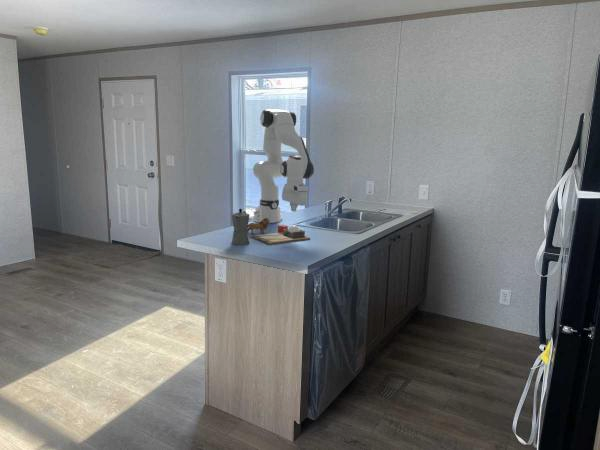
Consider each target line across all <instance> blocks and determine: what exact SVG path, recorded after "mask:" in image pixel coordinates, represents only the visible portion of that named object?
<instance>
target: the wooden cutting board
mask: <svg viewBox="0 0 600 450" xmlns="http://www.w3.org/2000/svg"><path fill="white" fill-rule="evenodd" d="M288 229H289V228H288ZM288 229H284V230H283V232H279V233H278V232H271V233H264V234H256V235H255V234H254V235H250V238H251V239H254V240H256V241H258V242H260V243H263V244H266V245H268V246H272V245H273V246H274V245H280V244H287V243H296V242H301V241H303V242H304V241H308V240H309V241H310V240H311V237H309V236H306V231H305V230H303V229H300V231H298V232H290V231H288Z"/></svg>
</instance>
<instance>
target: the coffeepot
mask: <svg viewBox="0 0 600 450" xmlns="http://www.w3.org/2000/svg"><path fill="white" fill-rule="evenodd" d="M231 218H232V226H233V232H232V233H233V234H232V237H231V238H232V240H231V243H232V245H234V244H235V245H234V246H246V244H247V245H249V244H250V240H249V234H248V233H249V231H248V232H247V227H248V225H249V221H250V214H249V213H247V212H246V211H245V210H243V209H242V208H239V209H238V212H235V213H234V212H233V213H232V214H231ZM248 228H249V227H248Z"/></svg>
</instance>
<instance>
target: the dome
mask: <svg viewBox="0 0 600 450" xmlns="http://www.w3.org/2000/svg"><path fill="white" fill-rule="evenodd" d="M300 230H301V229H300V228H299V226H297V225H295V224H293V225H290V226H289V227H288V231H290V232H298V231H300Z"/></svg>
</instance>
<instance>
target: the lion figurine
mask: <svg viewBox="0 0 600 450" xmlns="http://www.w3.org/2000/svg"><path fill="white" fill-rule="evenodd" d="M269 225H270V223H269V219H268V218H265V219H263V220H262V221H261V222H256V223H255V222H250V223H248V227H247V232H248V235H249V232H250V234H251V236H254V235H255V233H254V230H256V231H258V230H259V231H260V232H259V233H260V235H262V234H265V230H267V228H268V227H269Z"/></svg>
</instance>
